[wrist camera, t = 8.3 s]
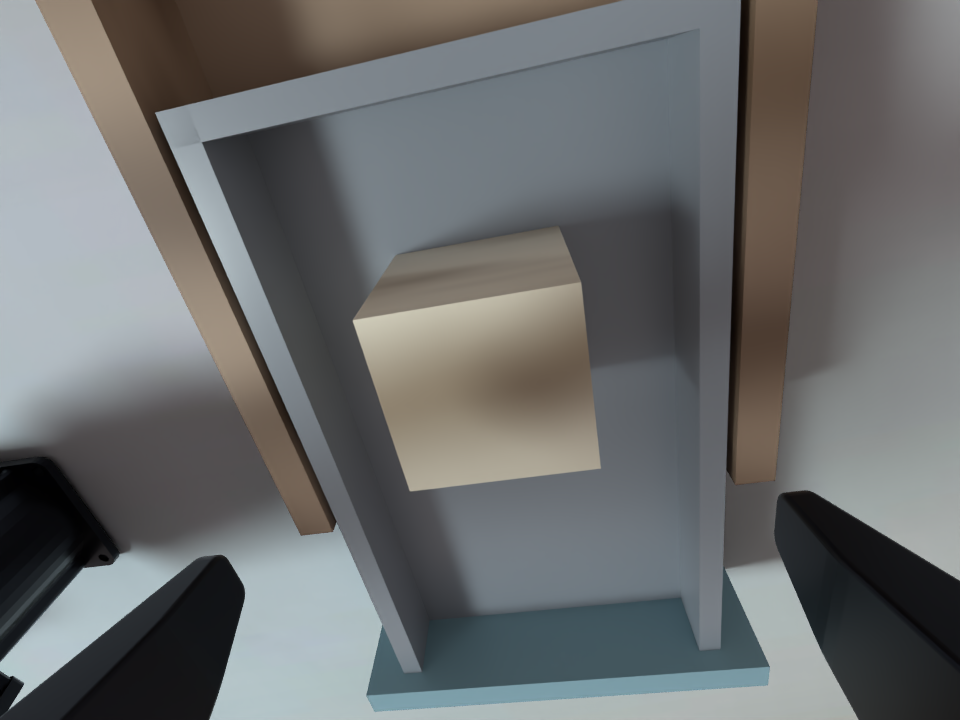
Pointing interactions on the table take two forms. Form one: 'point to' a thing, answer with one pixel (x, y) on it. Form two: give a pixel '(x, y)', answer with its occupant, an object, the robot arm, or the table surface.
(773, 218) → the dock
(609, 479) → the tray
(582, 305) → the birch block
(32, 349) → the table surface
